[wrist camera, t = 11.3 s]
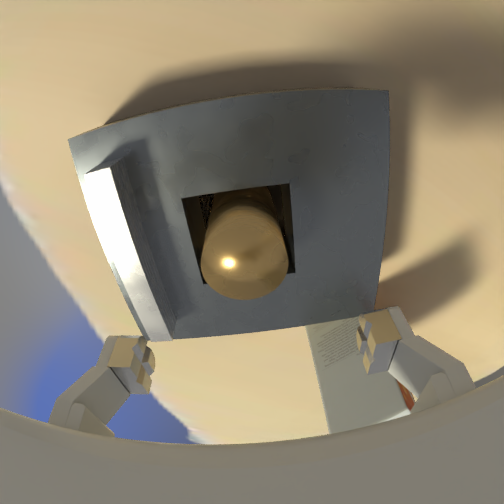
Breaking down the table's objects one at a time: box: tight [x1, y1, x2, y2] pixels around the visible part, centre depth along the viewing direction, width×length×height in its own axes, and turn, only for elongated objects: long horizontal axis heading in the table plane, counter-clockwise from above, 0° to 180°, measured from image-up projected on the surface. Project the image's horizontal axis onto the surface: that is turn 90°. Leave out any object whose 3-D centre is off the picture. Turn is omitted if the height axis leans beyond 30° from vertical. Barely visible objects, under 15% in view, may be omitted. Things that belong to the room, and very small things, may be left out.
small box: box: [305, 317, 416, 434], centre depth 24 cm, size 8×6×13 cm
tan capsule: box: [201, 186, 288, 300], centre depth 18 cm, size 4×4×8 cm
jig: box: [68, 88, 390, 342], centre depth 19 cm, size 18×16×7 cm
